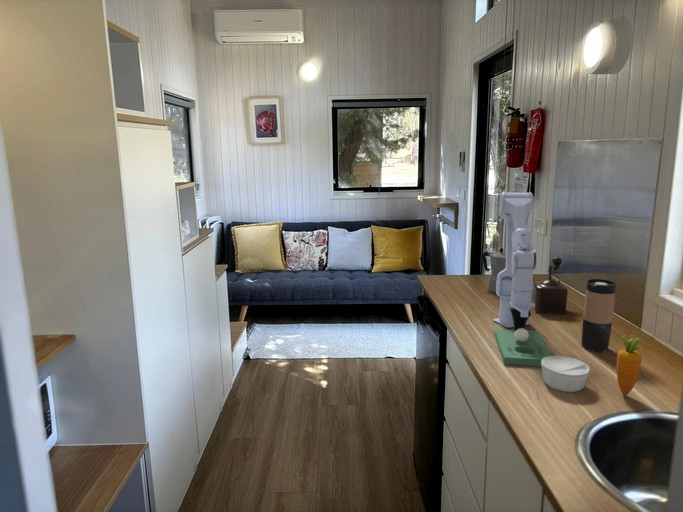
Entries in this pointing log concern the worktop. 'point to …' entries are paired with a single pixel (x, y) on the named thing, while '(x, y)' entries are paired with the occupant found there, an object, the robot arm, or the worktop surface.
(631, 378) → the carrot
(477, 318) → the worktop surface
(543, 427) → the worktop surface
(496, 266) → the coffeepot
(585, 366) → the ramekin
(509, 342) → the putting mat
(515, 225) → the robot arm
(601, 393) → the worktop surface
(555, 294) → the manual coffee grinder
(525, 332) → the ball
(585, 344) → the travel mug
